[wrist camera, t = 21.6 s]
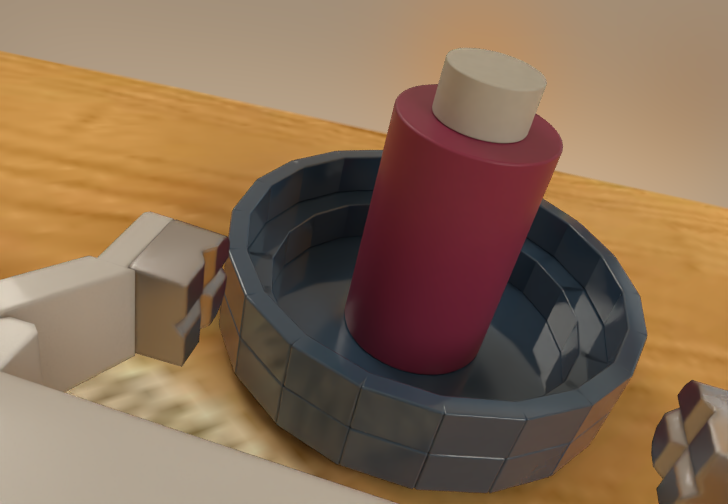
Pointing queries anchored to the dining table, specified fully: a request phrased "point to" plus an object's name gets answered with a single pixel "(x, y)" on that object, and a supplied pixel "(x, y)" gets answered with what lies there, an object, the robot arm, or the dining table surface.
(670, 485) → the robot arm
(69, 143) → the dining table surface
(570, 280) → the bowl
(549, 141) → the yogurt bottle
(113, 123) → the dining table surface
